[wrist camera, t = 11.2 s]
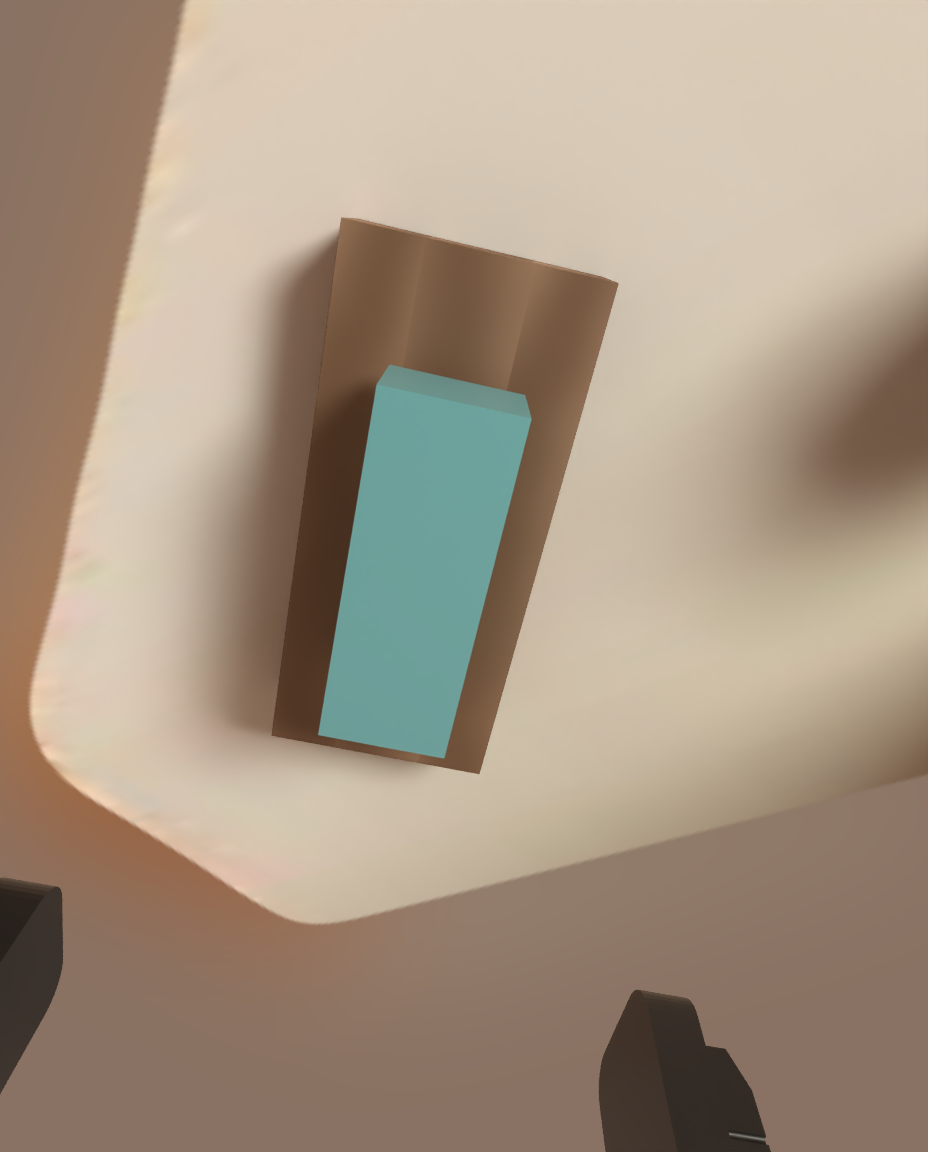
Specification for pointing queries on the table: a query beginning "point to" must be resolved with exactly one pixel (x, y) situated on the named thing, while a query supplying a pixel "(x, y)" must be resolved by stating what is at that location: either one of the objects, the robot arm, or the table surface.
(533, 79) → the table surface
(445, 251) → the board
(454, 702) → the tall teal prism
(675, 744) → the table surface
